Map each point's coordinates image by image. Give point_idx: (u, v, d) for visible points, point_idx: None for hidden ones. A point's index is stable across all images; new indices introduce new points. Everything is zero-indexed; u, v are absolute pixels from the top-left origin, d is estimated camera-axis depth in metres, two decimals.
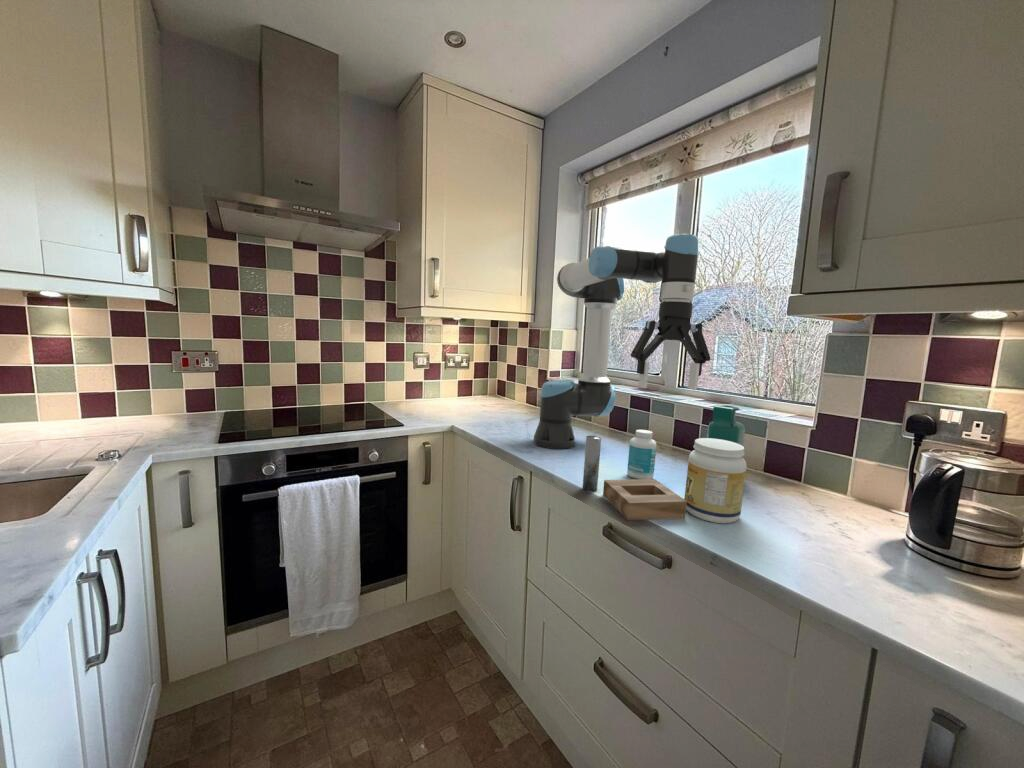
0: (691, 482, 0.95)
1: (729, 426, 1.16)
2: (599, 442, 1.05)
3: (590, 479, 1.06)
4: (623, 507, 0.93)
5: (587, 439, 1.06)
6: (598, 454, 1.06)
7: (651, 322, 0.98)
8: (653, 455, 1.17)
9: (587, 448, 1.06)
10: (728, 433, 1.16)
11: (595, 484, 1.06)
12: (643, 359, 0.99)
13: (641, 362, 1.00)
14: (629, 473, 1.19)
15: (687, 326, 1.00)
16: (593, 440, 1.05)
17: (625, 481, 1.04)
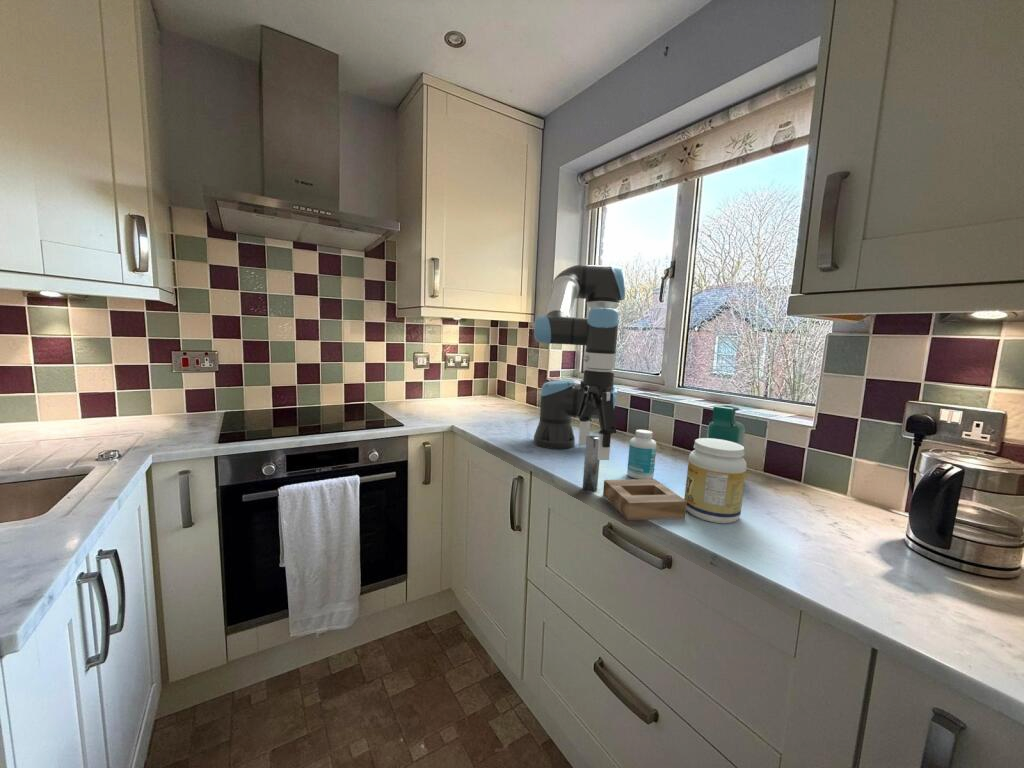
0: (691, 482, 0.95)
1: (729, 426, 1.16)
2: None
3: (590, 479, 1.06)
4: (623, 507, 0.93)
5: (587, 439, 1.06)
6: None
7: None
8: (653, 455, 1.17)
9: (587, 448, 1.06)
10: (728, 433, 1.16)
11: (595, 484, 1.06)
12: (579, 419, 1.13)
13: None
14: (629, 473, 1.19)
15: (597, 394, 1.02)
16: (593, 440, 1.05)
17: (625, 481, 1.04)
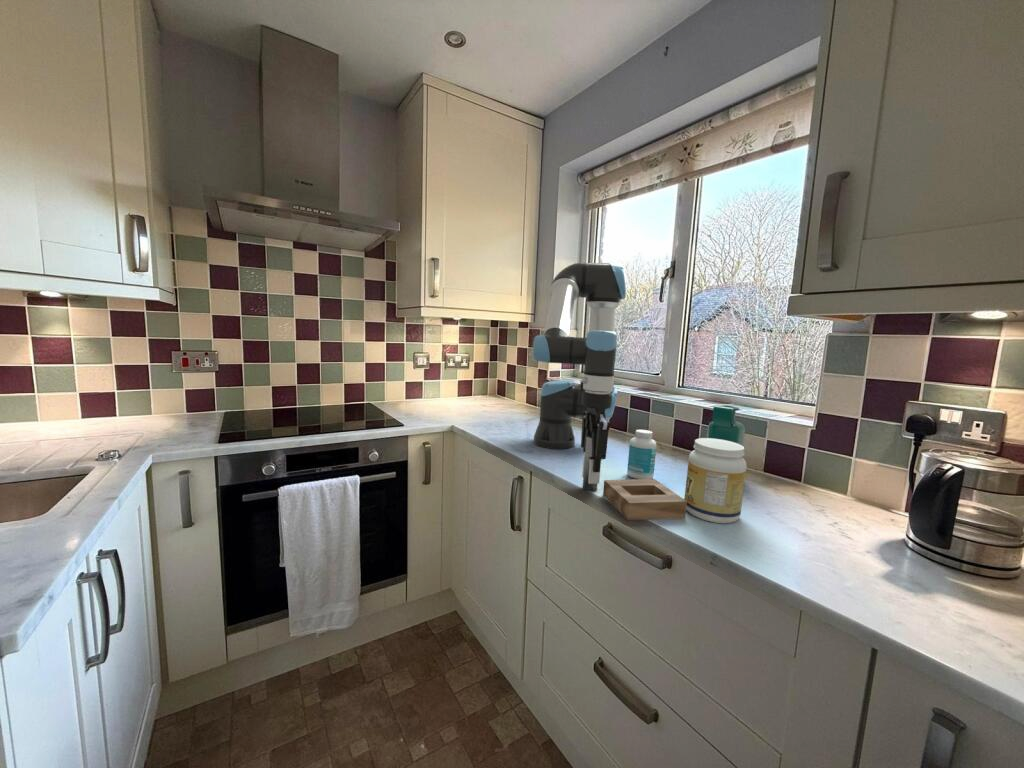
0: (691, 482, 0.95)
1: (729, 426, 1.16)
2: None
3: None
4: (623, 507, 0.93)
5: (587, 439, 1.06)
6: None
7: None
8: (653, 455, 1.17)
9: (587, 448, 1.06)
10: (728, 433, 1.16)
11: (595, 484, 1.06)
12: (583, 450, 1.10)
13: None
14: (629, 473, 1.19)
15: (595, 416, 1.03)
16: None
17: (625, 481, 1.04)
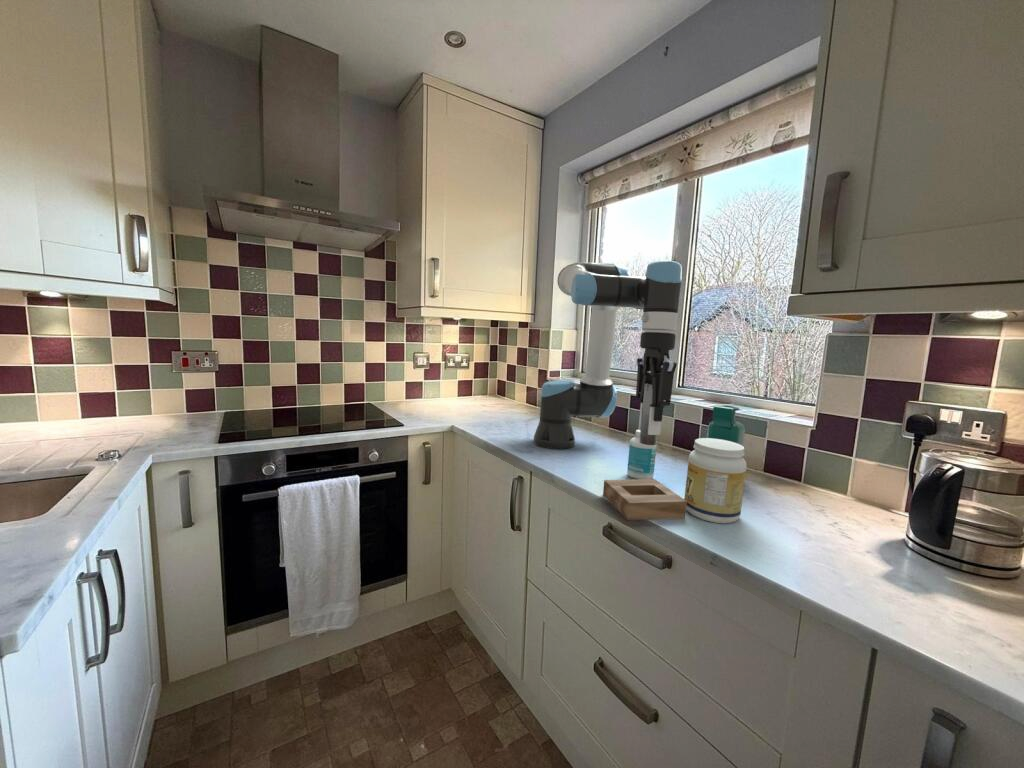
0: (691, 482, 0.95)
1: (729, 426, 1.16)
2: None
3: None
4: (623, 507, 0.93)
5: (646, 386, 0.95)
6: None
7: None
8: (653, 455, 1.17)
9: (646, 396, 0.95)
10: (728, 433, 1.16)
11: (655, 436, 0.95)
12: (640, 400, 0.99)
13: (641, 403, 0.99)
14: (629, 473, 1.19)
15: (658, 357, 0.92)
16: None
17: (625, 481, 1.04)
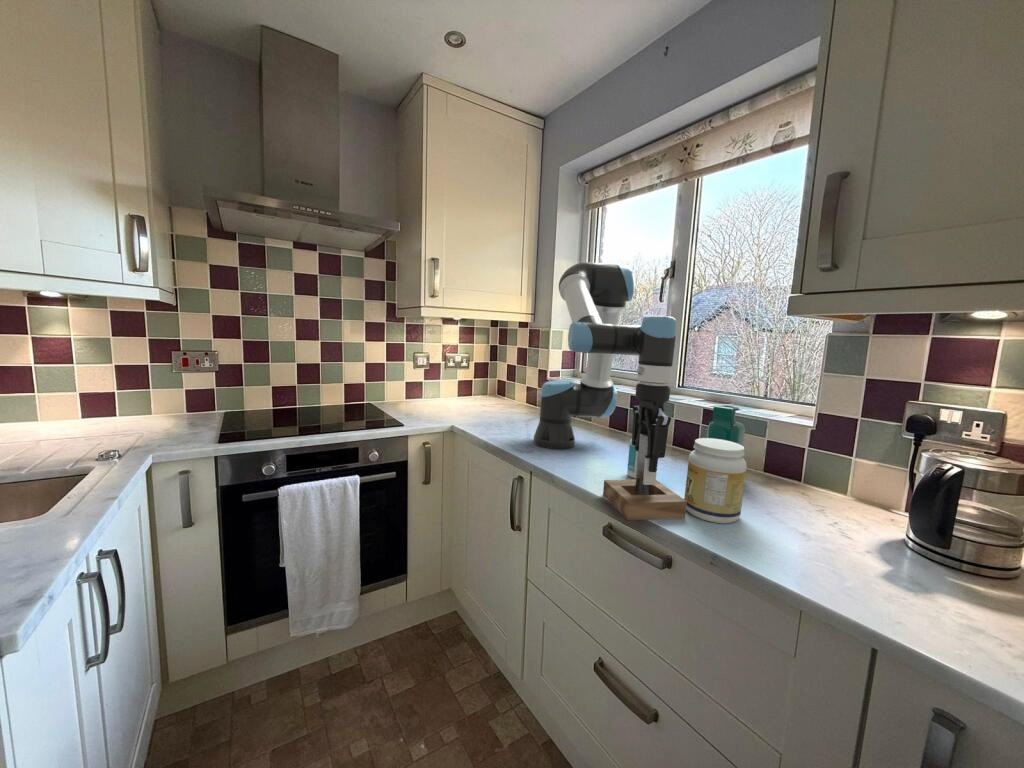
0: (691, 482, 0.95)
1: (729, 426, 1.16)
2: None
3: None
4: (623, 507, 0.93)
5: (641, 437, 0.96)
6: None
7: None
8: None
9: (641, 447, 0.96)
10: (728, 433, 1.16)
11: (650, 486, 0.97)
12: (635, 448, 1.00)
13: (636, 451, 1.01)
14: (629, 473, 1.19)
15: (653, 410, 0.93)
16: None
17: (625, 481, 1.04)
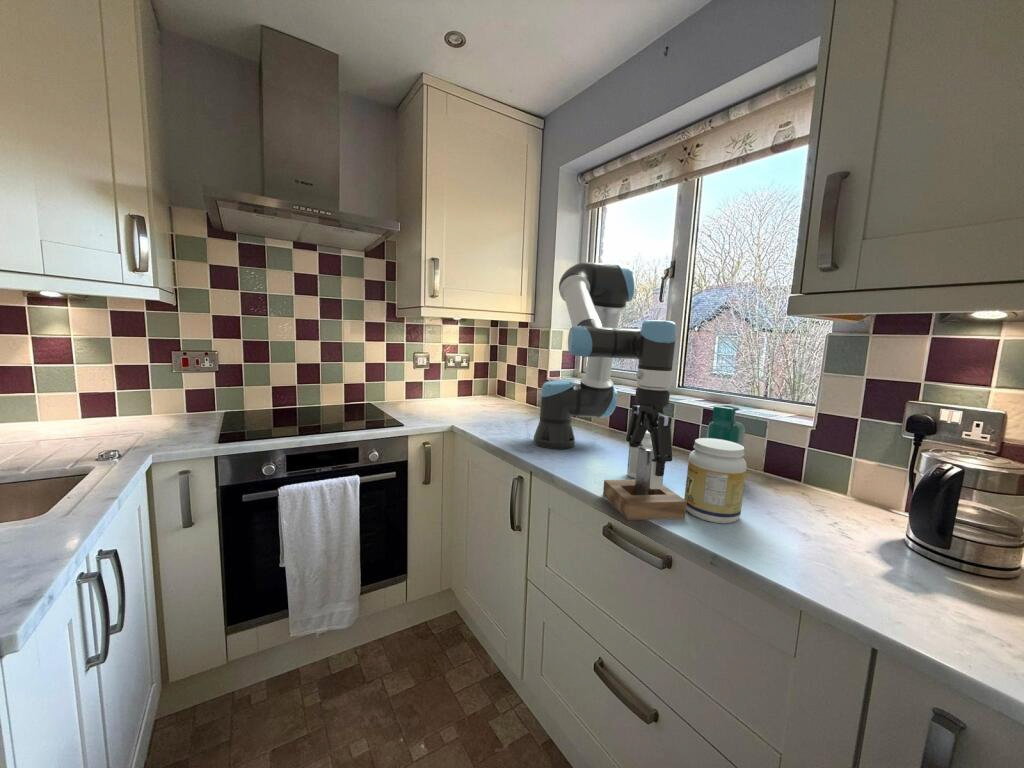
0: (691, 482, 0.95)
1: (729, 426, 1.16)
2: None
3: None
4: (623, 507, 0.93)
5: (640, 451, 0.97)
6: None
7: None
8: None
9: (639, 462, 0.97)
10: (728, 433, 1.16)
11: None
12: (629, 444, 1.03)
13: (631, 447, 1.04)
14: (629, 473, 1.19)
15: (652, 414, 0.93)
16: (647, 453, 0.96)
17: (625, 481, 1.04)
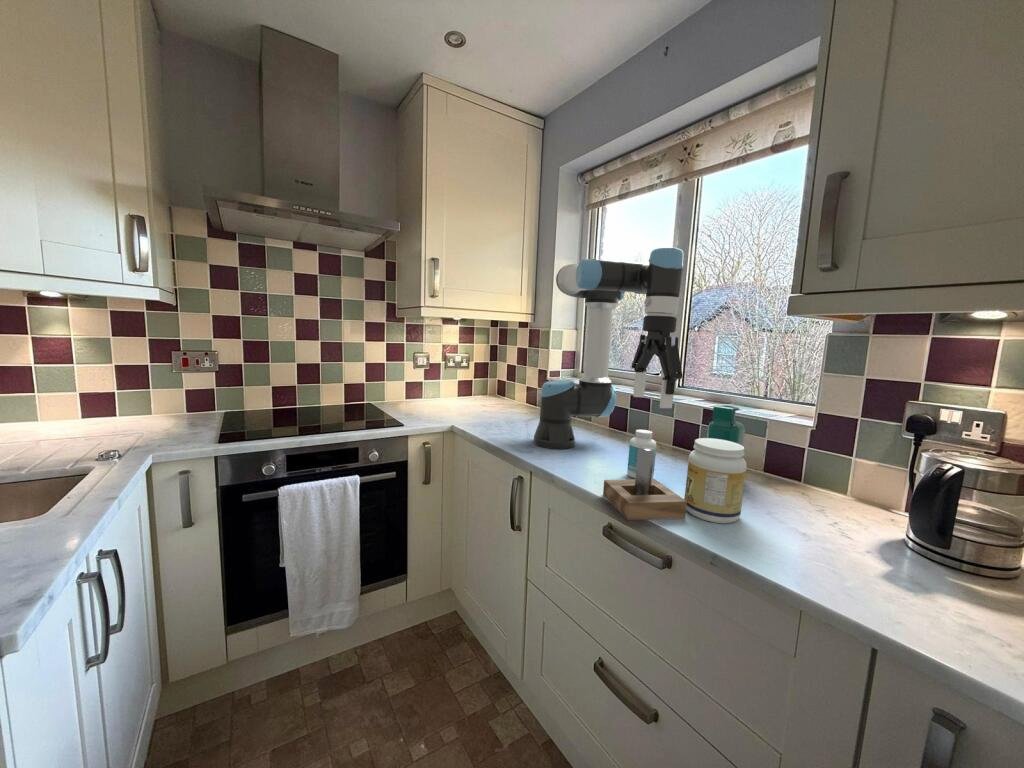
0: (691, 482, 0.95)
1: (729, 426, 1.16)
2: (653, 455, 0.96)
3: None
4: (623, 507, 0.93)
5: (639, 451, 0.97)
6: (651, 467, 0.97)
7: (640, 336, 1.06)
8: None
9: (639, 461, 0.97)
10: (728, 433, 1.16)
11: None
12: (634, 370, 1.09)
13: (636, 372, 1.09)
14: (629, 473, 1.19)
15: (659, 340, 0.97)
16: (646, 452, 0.96)
17: (625, 481, 1.04)
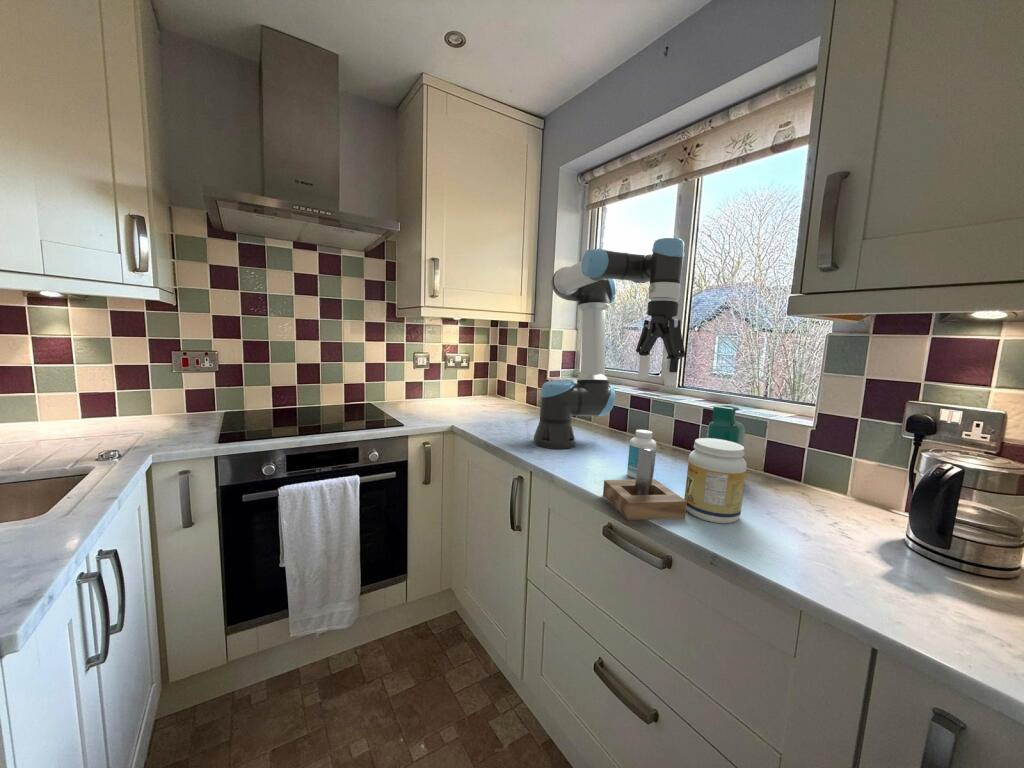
0: (691, 482, 0.95)
1: (729, 426, 1.16)
2: (654, 455, 0.96)
3: None
4: (623, 507, 0.93)
5: (640, 451, 0.97)
6: (652, 468, 0.97)
7: None
8: None
9: (640, 461, 0.97)
10: (728, 433, 1.16)
11: None
12: (639, 353, 1.16)
13: None
14: (629, 473, 1.19)
15: (663, 323, 1.05)
16: (648, 452, 0.96)
17: (625, 481, 1.04)
